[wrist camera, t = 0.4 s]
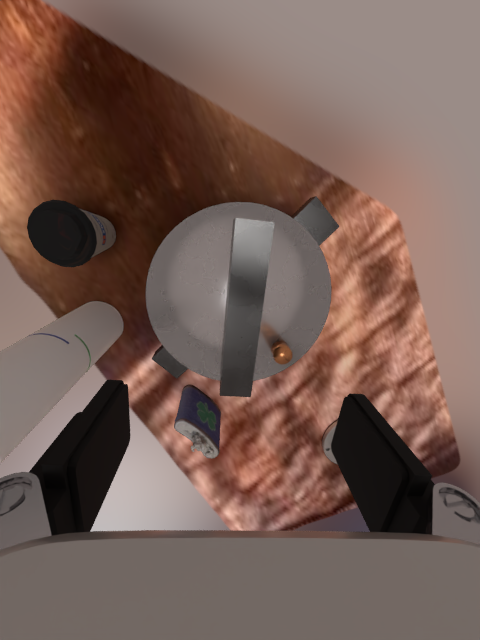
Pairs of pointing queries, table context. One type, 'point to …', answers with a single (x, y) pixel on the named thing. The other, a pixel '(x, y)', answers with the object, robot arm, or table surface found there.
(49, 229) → the coffee cup
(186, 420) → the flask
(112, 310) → the cylindrical container
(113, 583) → the robot arm
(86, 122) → the table surface
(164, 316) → the lid
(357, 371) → the table surface
